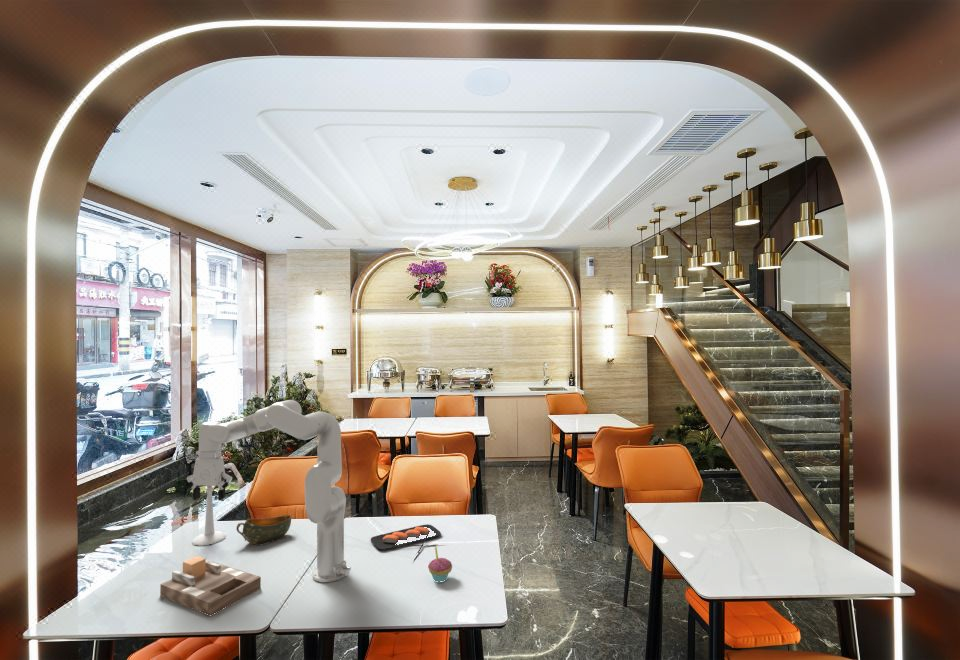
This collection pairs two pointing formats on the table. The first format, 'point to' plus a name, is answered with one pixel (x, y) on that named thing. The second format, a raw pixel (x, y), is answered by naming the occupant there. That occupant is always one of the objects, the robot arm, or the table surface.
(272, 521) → the green gravy boat
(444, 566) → the cupcake
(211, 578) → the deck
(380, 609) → the table surface
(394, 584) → the table surface
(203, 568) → the block
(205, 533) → the candlestick
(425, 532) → the sushi plate
